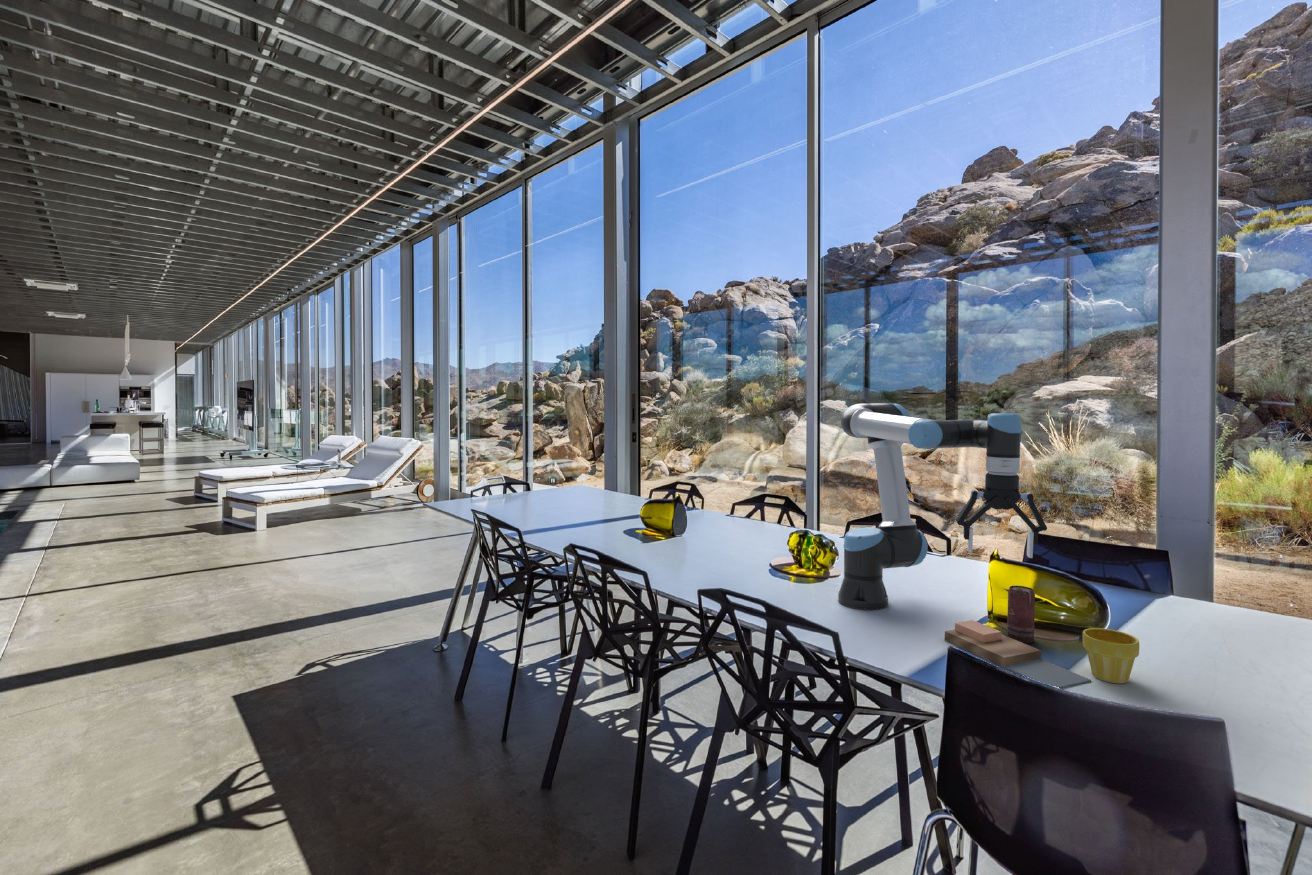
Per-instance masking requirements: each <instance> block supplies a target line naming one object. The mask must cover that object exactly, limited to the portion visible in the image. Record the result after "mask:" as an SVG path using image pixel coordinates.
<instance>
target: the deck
mask: <svg viewBox="0 0 1312 875" xmlns="http://www.w3.org/2000/svg"><path fill="white" fill-rule="evenodd" d="M944 641H945V642H948V643H949V644H952V645H953V646H956V647H959V648H960V649H963V650H965V651H967V652H969V653H972V654H973V655H976V656H977V657H980V658H982V659H985V660H986V661H988V662H991V663H993V664H995V665H996V666H1000V667H1002V668H1004V666H1008V665H1013V664H1018V663H1023V662H1027V661H1032V660H1037V659H1042V649H1038V648H1036V647H1034V646H1031V645H1029V644H1024V643H1022V642H1019V641H1017V640H1014V639H1012V638H1009V637H1008V636H1007V635H1005V634H1003V633H1001V640H995V641H990V642H984V643H983V642H981V641H979V640H976V639H974V638H972V637H969V636H967V635H965V634H962V633H960V632H958V631H956V630H955V628H954V629H950V630H944ZM1004 669H1005V668H1004Z"/></svg>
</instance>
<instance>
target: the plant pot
mask: <svg viewBox="0 0 1312 875" xmlns="http://www.w3.org/2000/svg"><path fill="white" fill-rule="evenodd" d="M1082 646H1083V648H1084V649H1085V650H1086V653H1087V657H1088V662H1089V667H1090V670H1091V674H1092V675H1093V676H1094V677H1095V678H1096V679H1098V680H1100V681H1103V682H1106V683H1111V684H1119V685H1122V684H1123V685H1124V684H1126V683H1128V682H1130V681H1129V680H1130V677H1131V674H1132V670H1133V666H1134V662H1135V659H1136V658H1138V656H1139V655H1140V641H1139V639H1138V638H1137V637H1136V636H1134V635H1132V634H1129V633H1128V632H1127V633H1126V632H1123V631H1120V630H1116V629H1109V628H1101V627H1100V628H1099V627H1092V628H1085V629H1084V630H1083V631H1082Z"/></svg>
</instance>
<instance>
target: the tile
mask: <svg viewBox="0 0 1312 875" xmlns="http://www.w3.org/2000/svg"><path fill="white" fill-rule="evenodd" d="M954 629H955V630H956V631H958V632H960V633H962V634H965V635H967V636H969V637H972V638H974V639H976V640H979V641H981V642H983V643H984V642H990V641H995V640H1001V634H1002V631H1001V630H998V629H996V628H993V627H991V626H988V625H985V624H983V623H980V622H978V621H975V620H974V619H973V620H972V619H970V620H964V621H958V622H955V623H954Z"/></svg>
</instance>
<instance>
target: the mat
mask: <svg viewBox="0 0 1312 875" xmlns="http://www.w3.org/2000/svg"><path fill="white" fill-rule="evenodd" d="M1004 669H1006V670H1008V671H1010V672H1011V673H1014V672H1015V674H1017V675H1019V676H1021V675H1024V676H1025V677H1029V678H1031V679H1034V680H1036V681H1040V682H1041V683H1045V684H1050V685H1051V686H1056V687H1059V688H1061V689H1064V688H1069V687H1073V686H1078V685H1082V684H1086V683H1090V682H1092V679H1091V678H1088V677H1085V676H1083V675H1080V674H1079V673H1077V672H1074V671H1071V670H1069V669H1066V668H1064V667H1061V666H1059V665H1057V664H1055V663H1052V662H1049V661H1047V660H1044V659H1042V658H1041V659H1037V660H1032V661H1027V662H1023V663H1018V664H1013V665H1008V666H1004ZM1025 677H1024V678H1025Z"/></svg>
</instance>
